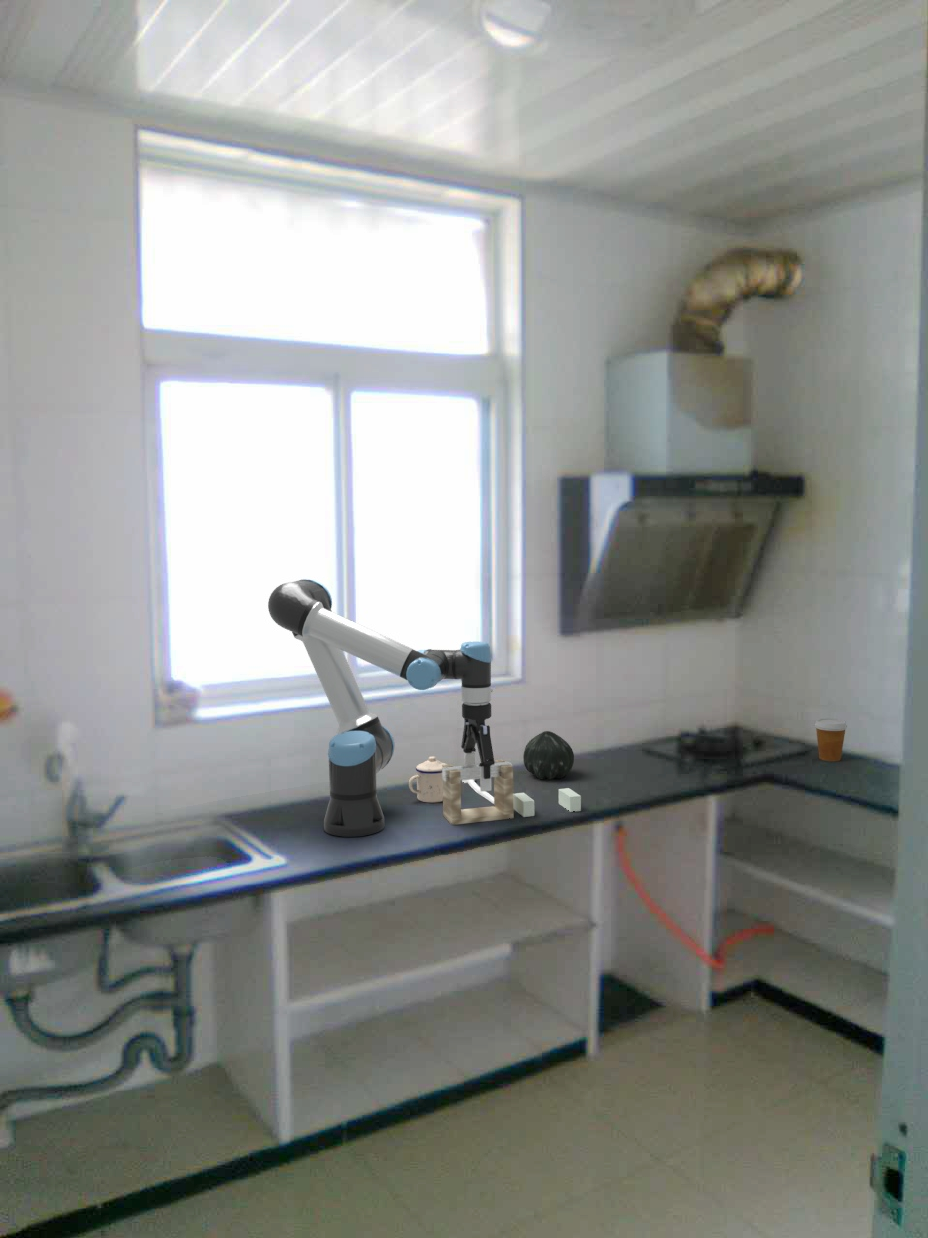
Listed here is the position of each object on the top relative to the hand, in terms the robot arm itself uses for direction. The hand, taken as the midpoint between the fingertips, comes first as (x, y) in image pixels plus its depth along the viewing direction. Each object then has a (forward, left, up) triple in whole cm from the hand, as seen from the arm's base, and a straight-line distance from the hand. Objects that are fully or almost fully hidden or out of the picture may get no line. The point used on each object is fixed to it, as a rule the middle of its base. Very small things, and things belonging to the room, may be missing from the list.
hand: (477, 784), depth 255 cm
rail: (0, 0, +2) cm, 2 cm away
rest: (+19, 0, -9) cm, 21 cm away
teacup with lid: (-8, +20, -9) cm, 23 cm away
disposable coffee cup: (+122, +20, -9) cm, 124 cm away
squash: (+32, +31, -9) cm, 45 cm away
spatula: (+8, +22, -9) cm, 25 cm away
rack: (0, 0, -9) cm, 9 cm away
